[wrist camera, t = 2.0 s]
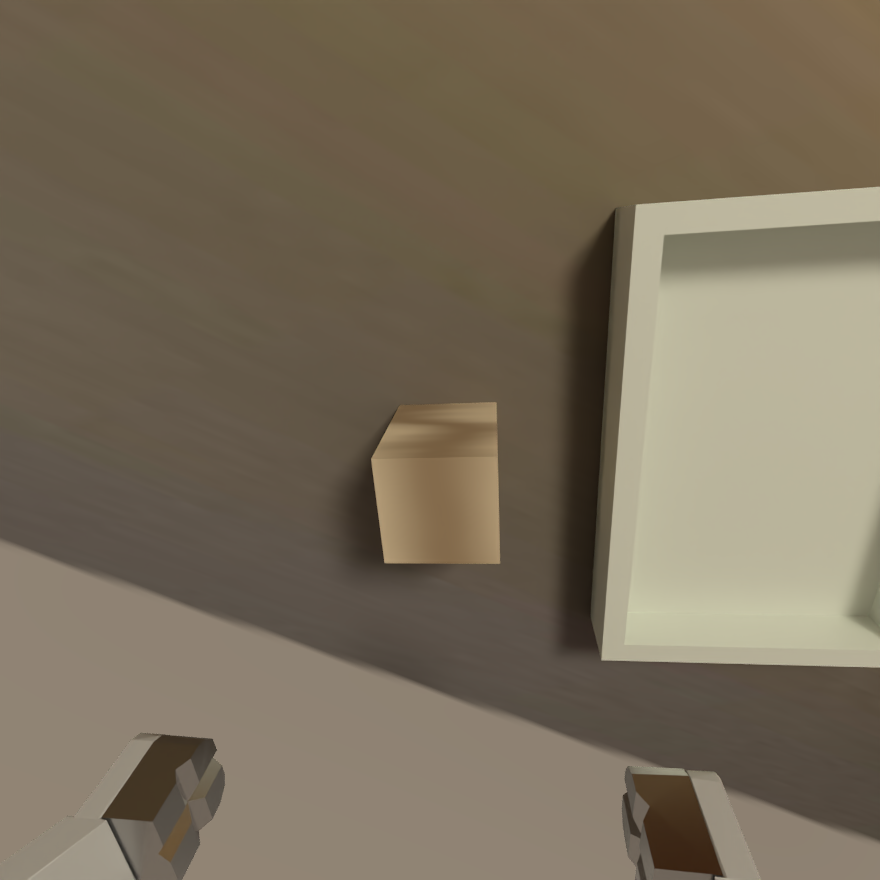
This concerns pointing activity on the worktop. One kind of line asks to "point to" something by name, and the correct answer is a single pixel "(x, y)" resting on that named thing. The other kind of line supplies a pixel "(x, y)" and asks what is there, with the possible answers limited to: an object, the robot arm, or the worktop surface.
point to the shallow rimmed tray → (742, 433)
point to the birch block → (439, 484)
